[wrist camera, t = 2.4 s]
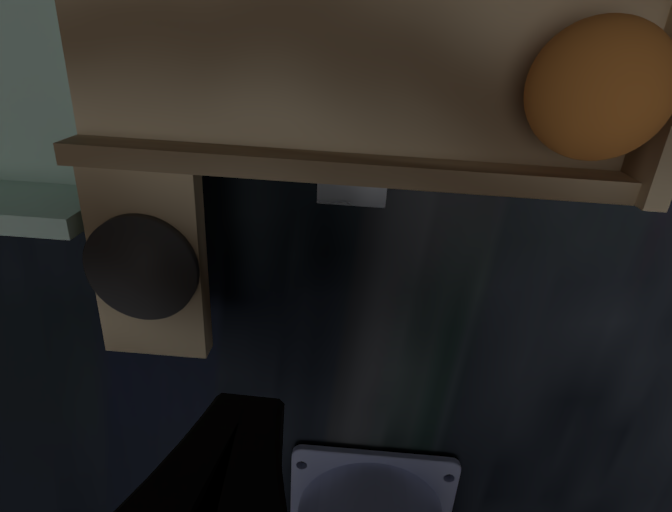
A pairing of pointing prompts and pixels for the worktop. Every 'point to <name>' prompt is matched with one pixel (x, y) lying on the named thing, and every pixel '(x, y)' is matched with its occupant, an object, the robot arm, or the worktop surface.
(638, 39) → the ball
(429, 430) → the worktop surface
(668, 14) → the wooden ramp
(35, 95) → the tray
